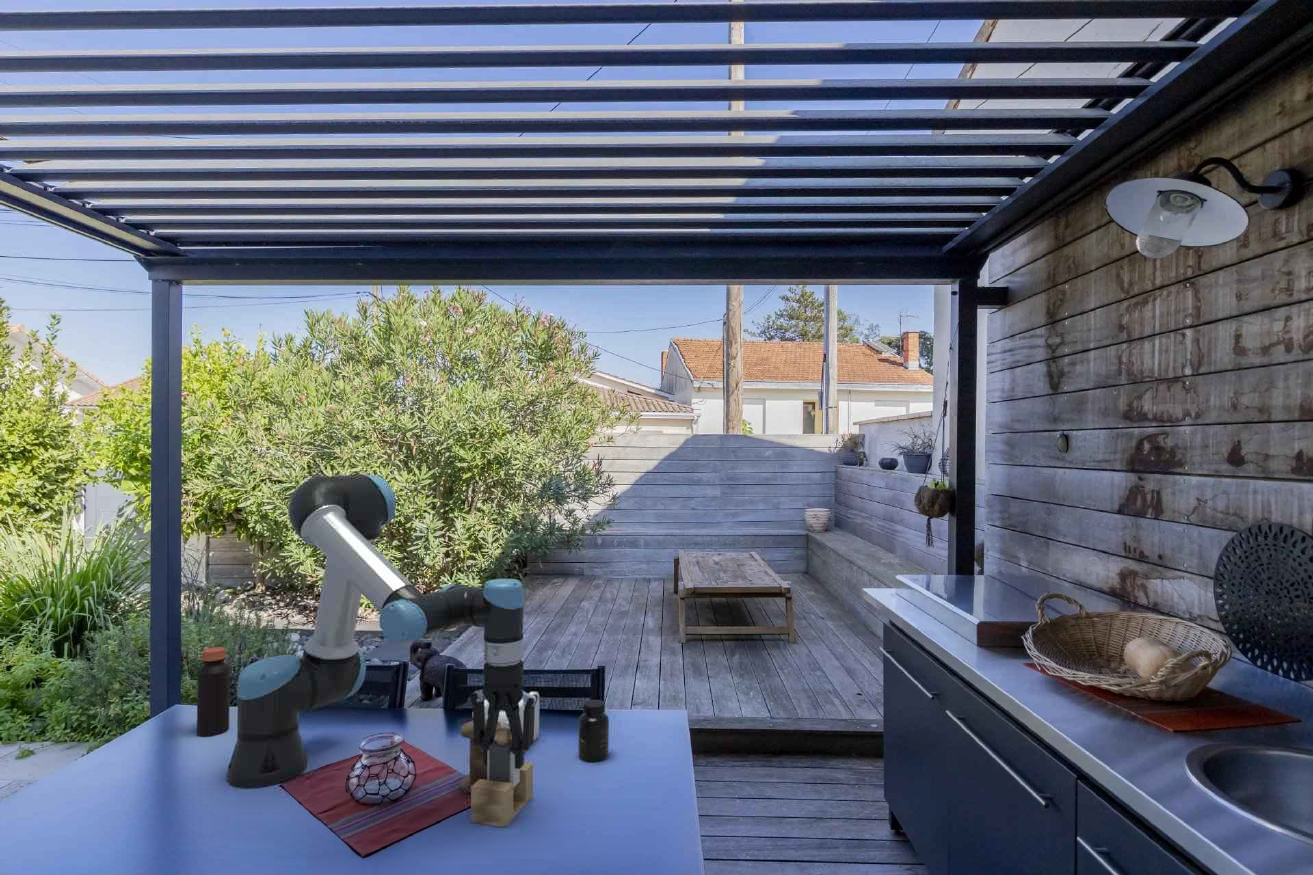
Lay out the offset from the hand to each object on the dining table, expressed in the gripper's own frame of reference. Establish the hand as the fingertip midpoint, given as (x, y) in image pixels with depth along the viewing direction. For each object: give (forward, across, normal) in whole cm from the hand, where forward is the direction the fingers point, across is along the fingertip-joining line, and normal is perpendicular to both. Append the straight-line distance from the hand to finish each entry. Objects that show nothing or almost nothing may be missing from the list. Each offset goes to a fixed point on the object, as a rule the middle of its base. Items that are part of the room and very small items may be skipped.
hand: (503, 782), depth 138 cm
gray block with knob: (0, 0, 0) cm, 0 cm away
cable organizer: (+5, -12, +26) cm, 29 cm away
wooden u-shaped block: (+5, 0, 0) cm, 5 cm away
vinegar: (+5, -86, +17) cm, 88 cm away
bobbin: (+5, -9, +8) cm, 13 cm away
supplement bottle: (+5, +9, +27) cm, 29 cm away
